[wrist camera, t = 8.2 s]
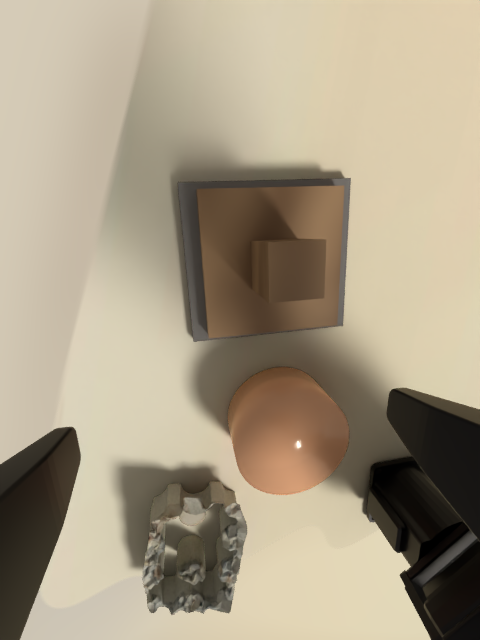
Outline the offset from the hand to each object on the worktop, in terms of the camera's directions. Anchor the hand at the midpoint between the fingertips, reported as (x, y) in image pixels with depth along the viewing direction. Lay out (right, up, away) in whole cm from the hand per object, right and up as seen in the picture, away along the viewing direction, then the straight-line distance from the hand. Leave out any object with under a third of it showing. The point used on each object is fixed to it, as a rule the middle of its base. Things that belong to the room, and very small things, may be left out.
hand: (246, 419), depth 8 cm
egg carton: (-4, -15, +18) cm, 24 cm away
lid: (+2, +7, +11) cm, 13 cm away
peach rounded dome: (+3, -5, +15) cm, 16 cm away
